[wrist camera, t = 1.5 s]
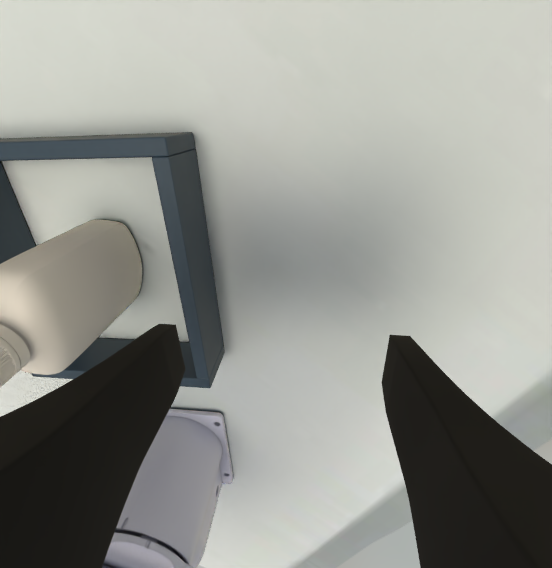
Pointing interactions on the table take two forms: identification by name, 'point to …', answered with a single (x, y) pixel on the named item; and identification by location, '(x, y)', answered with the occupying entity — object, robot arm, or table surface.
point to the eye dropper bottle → (65, 296)
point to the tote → (179, 223)
